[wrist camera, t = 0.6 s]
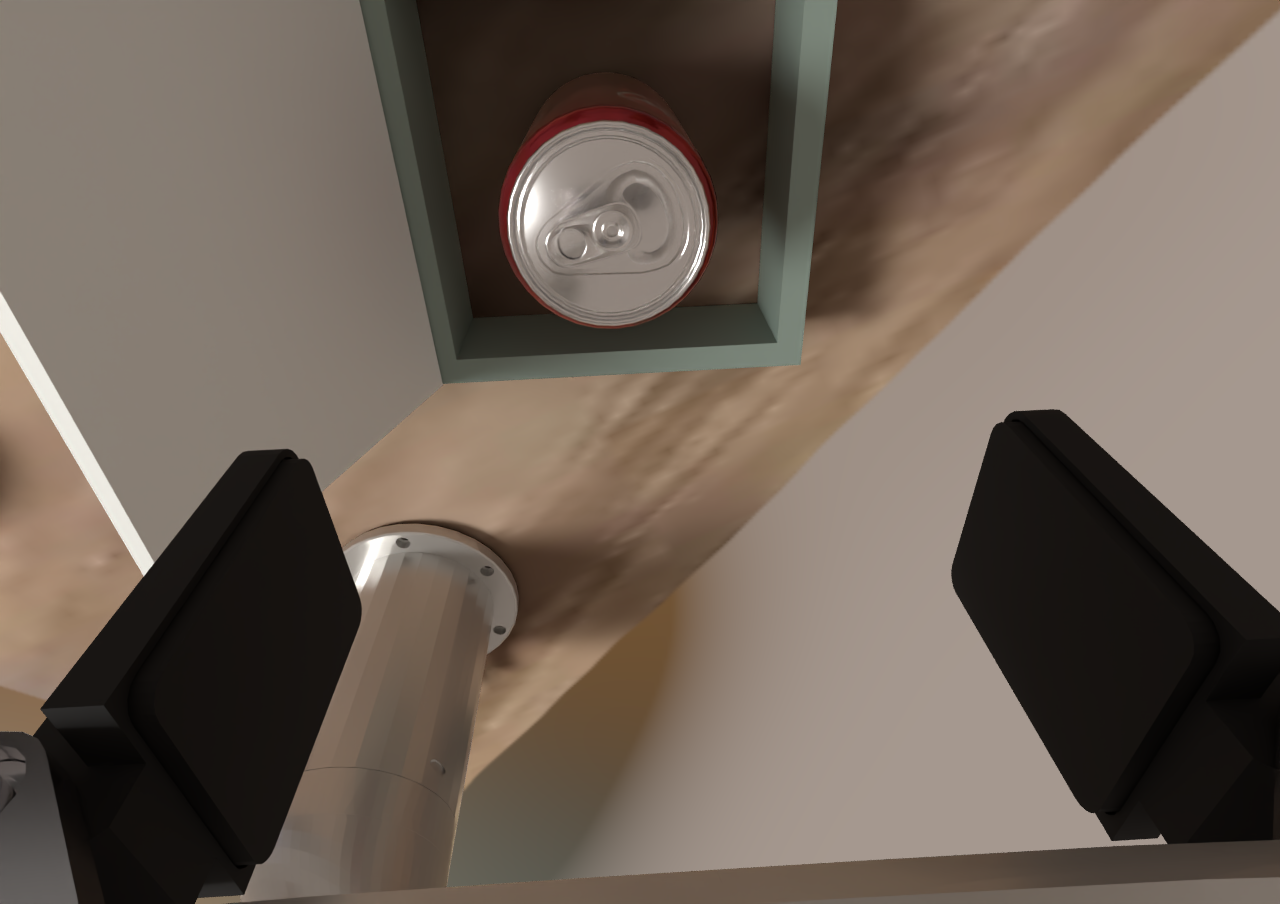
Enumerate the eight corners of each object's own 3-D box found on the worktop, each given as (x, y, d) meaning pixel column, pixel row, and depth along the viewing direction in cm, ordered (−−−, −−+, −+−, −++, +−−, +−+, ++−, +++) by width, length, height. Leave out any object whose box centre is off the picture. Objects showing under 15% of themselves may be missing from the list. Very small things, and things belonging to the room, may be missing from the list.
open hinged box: (778, 323, 37) (910, 570, 21) (350, 345, 37) (158, 615, 21) (810, -84, 28) (1095, -189, 12) (233, -60, 27) (-290, -135, 11)
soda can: (665, 50, 30) (697, 77, 20) (697, 215, 34) (737, 308, 24) (506, 95, 31) (460, 144, 21) (555, 252, 35) (537, 357, 25)
